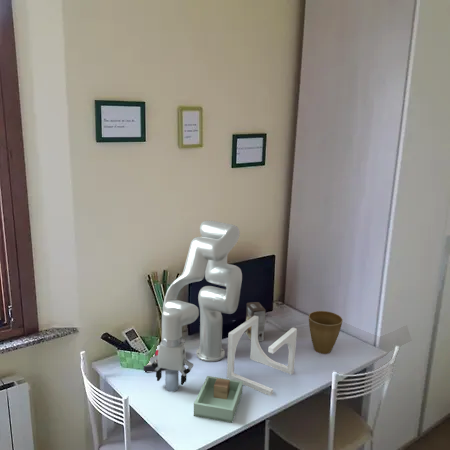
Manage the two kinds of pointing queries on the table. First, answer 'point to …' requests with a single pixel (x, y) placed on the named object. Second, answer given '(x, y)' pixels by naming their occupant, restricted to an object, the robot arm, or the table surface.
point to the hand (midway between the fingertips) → (171, 381)
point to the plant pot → (324, 330)
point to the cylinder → (171, 380)
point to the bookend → (260, 353)
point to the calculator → (149, 365)
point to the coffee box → (259, 311)
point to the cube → (221, 388)
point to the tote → (217, 401)
